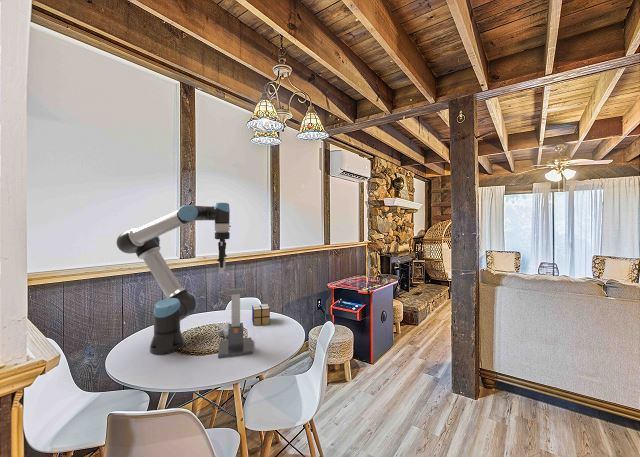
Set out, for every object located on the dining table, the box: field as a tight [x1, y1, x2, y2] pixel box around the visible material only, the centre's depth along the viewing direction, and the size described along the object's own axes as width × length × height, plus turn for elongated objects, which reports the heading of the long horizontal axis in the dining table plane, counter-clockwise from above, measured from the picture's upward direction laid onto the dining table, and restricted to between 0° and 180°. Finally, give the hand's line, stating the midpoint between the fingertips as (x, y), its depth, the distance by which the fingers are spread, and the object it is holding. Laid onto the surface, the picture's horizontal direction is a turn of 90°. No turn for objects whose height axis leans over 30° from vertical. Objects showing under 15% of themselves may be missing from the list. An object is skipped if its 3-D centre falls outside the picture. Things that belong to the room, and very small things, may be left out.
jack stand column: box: [226, 287, 245, 328], centre depth 143 cm, size 8×4×22 cm, turn 106°
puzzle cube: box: [251, 303, 271, 327], centre depth 179 cm, size 10×10×10 cm
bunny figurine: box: [215, 321, 231, 339], centre depth 162 cm, size 10×5×15 cm
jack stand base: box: [217, 322, 254, 359], centre depth 143 cm, size 16×16×12 cm
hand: (222, 271), depth 153 cm, fingers open, 13 cm apart
